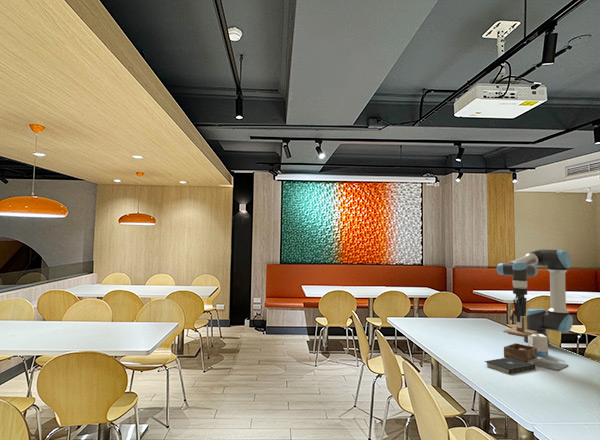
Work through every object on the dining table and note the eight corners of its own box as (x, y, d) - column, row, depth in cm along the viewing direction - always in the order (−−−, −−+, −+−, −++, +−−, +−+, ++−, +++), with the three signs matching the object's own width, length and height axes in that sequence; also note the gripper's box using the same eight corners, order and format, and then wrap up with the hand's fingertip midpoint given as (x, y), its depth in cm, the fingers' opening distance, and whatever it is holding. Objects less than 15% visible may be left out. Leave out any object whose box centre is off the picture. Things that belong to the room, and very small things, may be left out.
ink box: (548, 356, 230) (548, 334, 231) (533, 355, 232) (532, 333, 232) (542, 352, 238) (542, 331, 239) (527, 351, 240) (527, 330, 241)
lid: (515, 330, 237) (515, 314, 238) (537, 334, 227) (537, 317, 228) (503, 333, 227) (503, 317, 227) (526, 338, 217) (526, 320, 218)
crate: (515, 352, 236) (515, 343, 236) (536, 357, 226) (536, 347, 227) (503, 357, 226) (503, 346, 226) (525, 362, 216) (525, 351, 217)
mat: (542, 359, 222) (542, 358, 222) (568, 365, 212) (568, 364, 212) (531, 364, 212) (531, 363, 212) (558, 371, 202) (558, 370, 202)
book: (509, 375, 195) (509, 369, 195) (484, 366, 208) (484, 361, 208) (535, 370, 204) (535, 364, 205) (509, 362, 218) (509, 357, 218)
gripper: (518, 286, 237) (519, 324, 235) (507, 287, 227) (507, 327, 225) (532, 287, 231) (532, 326, 229) (521, 289, 221) (521, 330, 219)
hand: (520, 327), depth 227 cm, fingers closed on lid, 3 cm apart
